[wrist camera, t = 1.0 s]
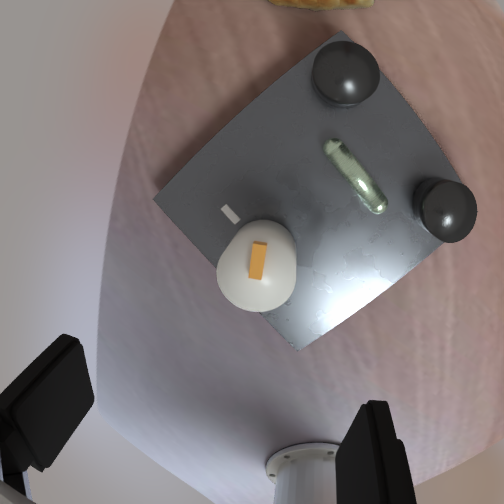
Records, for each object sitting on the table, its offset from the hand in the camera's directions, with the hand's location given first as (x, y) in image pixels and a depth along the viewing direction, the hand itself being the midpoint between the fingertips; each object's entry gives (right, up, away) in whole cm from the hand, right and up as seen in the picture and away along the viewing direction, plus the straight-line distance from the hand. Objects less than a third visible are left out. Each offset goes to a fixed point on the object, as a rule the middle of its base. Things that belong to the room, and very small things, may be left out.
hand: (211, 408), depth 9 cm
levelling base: (+7, +9, +16) cm, 20 cm away
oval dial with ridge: (+2, +5, +16) cm, 17 cm away
